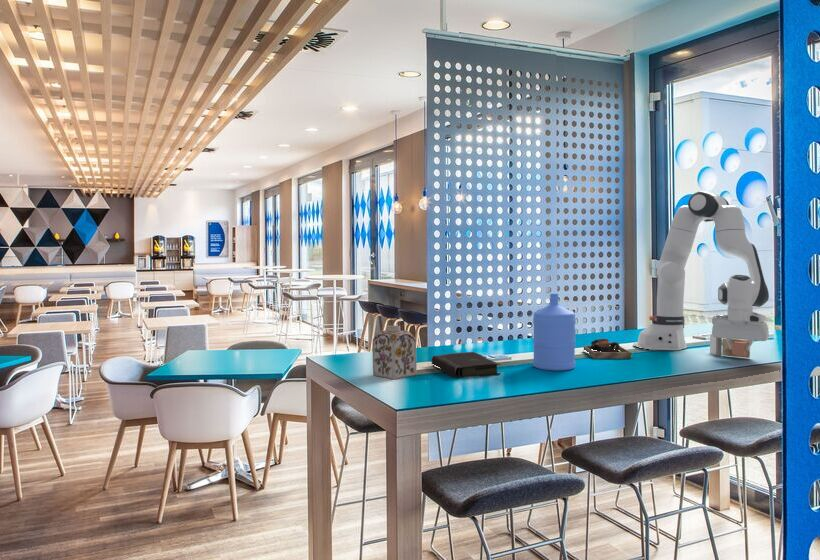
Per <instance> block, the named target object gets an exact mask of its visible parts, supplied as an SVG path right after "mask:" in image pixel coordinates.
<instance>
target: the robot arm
mask: <svg viewBox="0 0 820 560" xmlns="http://www.w3.org/2000/svg"><path fill="white" fill-rule="evenodd" d="M744 219H745V218H744V215H743V212H742V210H741V208H740V207H739V206H736V205H730V203H729V201H728V200H727V199H725V198H724V197H722V196H720V195H719V194H716V193H711V192H709V191H697V192H694V193H693V194H692V195H690V197H689V199H688V202H687V205H682V206H680V207H678V208H677V210H676V212H675V214H674V216H673V219H672V221H671V223H670V227H669V230H668V233H667V237H666V240H665V244H664V246H663V249H662V253H661V255H660V259H659V262H658V265H657V268H656V276H657V288H656V289H657V290H656V314H655V315H654V316H652V315H649V316H648V319H649V321H651V322H652V323H651V324H650V325H649V326H646V328H644V329H643V330H642V331H640V333H639V335H638V340H637V342H633V343H632V346H633V345H635V346H638V347H641V348H645V349H644V350H646V349H649V350H653V351H682V350H685V349H687V344H686V340H685V331H684V330H685V323H686V322H685V316H684V297H685V296H684V295H685V285H686V284H685V279H686V270H685V267H686V265H687V262H688V259H689V256H690V254H691V252H692V248H693V245H694V241H695V238H696V236H697V232H698V228H699V225H700V223H701V222H702V221H704V222H705V223H706V222H713V223H714V225H715V240H716V245H717V246H718V248H719V249H720V250H721V251H723V253H726V254H728V255H732V256H735V257H736V258H740V259H741V260H743V261H744V262H745V263H746V265H747V268H748V273H749V276H748V275H743V274H733V275H731V276H730V277H729V278H728V281H727V282H725V283H724V282H723V283H722V284H721V285H720V286H719V287H718V289H717V296H718V297H717V299H718V301H719V302H720V304H722V305H724V306H727V314H722V315H721V314H716V315H714V316H712V317H711V322H712V327H711V328H712V330H711V334H712V336H713V337H716V338H722V339H723V338H726V342H727V343H728V345H729V350H732V344H731V342H730V341H731V339H741V340H748V343H750V344H749V345H748V346H746V347H745V351H750V352H751V347H752V345H753V344H754V341H756V342H758V341H759V342H766V341H768V340H769V337H770V334H769V325H768V324H767V322H765V321H766V317H767V316H765V315H763V314H761V313H757V312H755V311H753V307H755V308H756V307H757V308H761V307H762V306H764V305H765V304H766V303H767V302H768V301H769V298H770V297H769V296H770V294H769V289H768V285H767V284H766V280H765V277H764V273H763V269H762V265H761V262H760V258H759V254H758V251H757V248H756V246H755V244H753V243H752V242H750V241H749V239H748V237H747V235H746V234H747V233H746V224H745V220H744Z"/></svg>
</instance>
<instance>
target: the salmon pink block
mask: <svg viewBox="0 0 820 560" xmlns="http://www.w3.org/2000/svg"><path fill="white" fill-rule="evenodd" d="M746 346H747V342H736V341H735V342H733V343H732V355H735V356H746V355H747V351H745V347H746Z"/></svg>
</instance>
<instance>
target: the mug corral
mask: <svg viewBox="0 0 820 560" xmlns="http://www.w3.org/2000/svg"><path fill="white" fill-rule="evenodd" d="M619 346H620V345H619ZM590 347H591V345H583V351H584V350H586V351H587V352H589V354H590V356H589V357H591V358H593V360H597V359H598V360H601V359H602V360H604V359H607V360H608V359H611V360H612V359H613V360H614V359H615V360H617V359H619V360H620V359H627V360H628V359H632V357H633V356H632V351H630V350H628V349H626V348H625V347H622V346H620V348H619V350H620V351H621V352H594V351H592V350H591V349H590ZM613 349H616V346H614V348H613Z"/></svg>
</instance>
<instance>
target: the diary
mask: <svg viewBox="0 0 820 560" xmlns="http://www.w3.org/2000/svg"><path fill="white" fill-rule="evenodd" d="M432 364H434V365H436V366H438V367H440V368H441V370H442V371H441V370H440V371H441V372H443V373H445V374H447V375H449V376H451V377H452V378H453V379H458V378H461V379H462V378H471V377H481V378H482V377H492V376H493V377H494V376H499V375H501V372H500V373H499V372H498V366H501V363H500V362H499V363H498V362H496V361H494V360H492V359H489V358H487V357H486V356H483V355H481V354H480V353H478V352H475V351H468V352H467V351H465V352H453V353H446V354H438V355H437V354H436V355H432V357H431V365H432Z"/></svg>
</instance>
